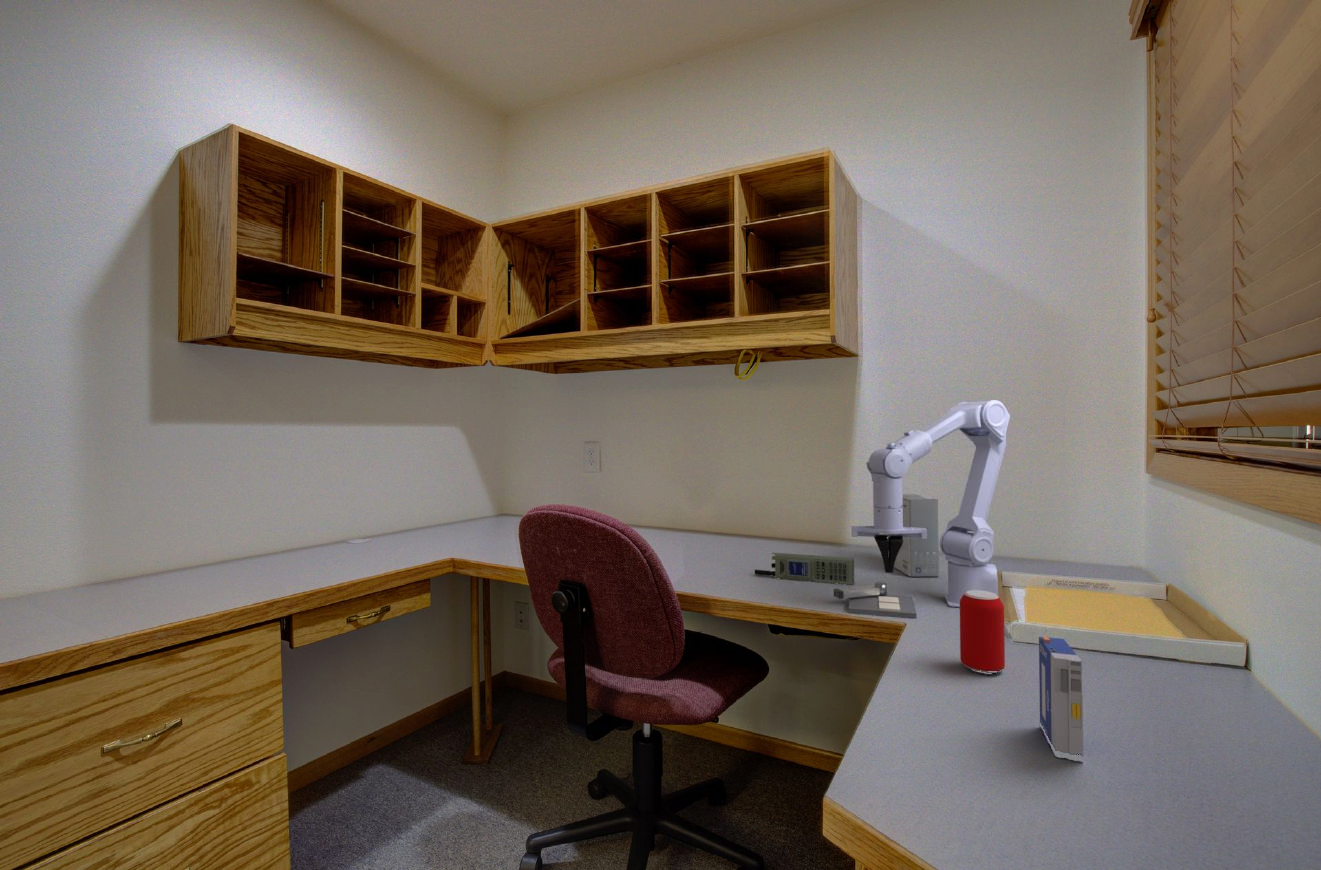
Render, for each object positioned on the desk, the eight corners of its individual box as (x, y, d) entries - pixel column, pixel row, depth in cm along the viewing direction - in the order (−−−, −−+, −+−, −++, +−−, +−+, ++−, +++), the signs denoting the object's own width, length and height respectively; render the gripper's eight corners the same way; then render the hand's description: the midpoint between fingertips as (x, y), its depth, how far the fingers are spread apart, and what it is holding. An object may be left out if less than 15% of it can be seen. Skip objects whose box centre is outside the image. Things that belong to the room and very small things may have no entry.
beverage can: (1004, 680, 91) (1003, 601, 90) (958, 672, 94) (957, 596, 94) (1005, 666, 96) (1004, 591, 96) (962, 659, 99) (961, 586, 99)
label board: (912, 600, 132) (912, 594, 132) (916, 618, 120) (916, 612, 120) (850, 596, 137) (850, 590, 137) (848, 613, 124) (848, 606, 124)
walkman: (1039, 727, 76) (1038, 633, 76) (1065, 730, 75) (1064, 636, 75) (1055, 759, 69) (1054, 655, 69) (1083, 763, 68) (1082, 658, 68)
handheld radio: (853, 586, 146) (753, 578, 156) (854, 584, 149) (756, 575, 159) (853, 559, 146) (752, 552, 156) (854, 557, 149) (756, 550, 159)
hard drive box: (940, 577, 152) (939, 499, 152) (909, 578, 152) (908, 499, 152) (915, 563, 168) (914, 492, 167) (887, 564, 168) (886, 493, 168)
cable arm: (889, 595, 132) (889, 584, 132) (839, 599, 129) (839, 589, 129) (882, 592, 135) (882, 581, 135) (833, 596, 132) (833, 586, 132)
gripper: (922, 504, 126) (923, 568, 126) (850, 503, 130) (851, 566, 130) (928, 509, 120) (929, 577, 120) (852, 508, 123) (853, 573, 123)
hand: (888, 571), depth 124 cm, fingers closed
